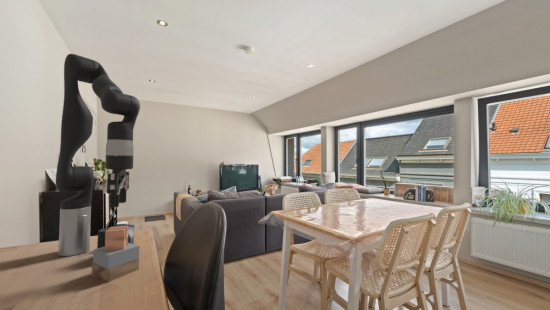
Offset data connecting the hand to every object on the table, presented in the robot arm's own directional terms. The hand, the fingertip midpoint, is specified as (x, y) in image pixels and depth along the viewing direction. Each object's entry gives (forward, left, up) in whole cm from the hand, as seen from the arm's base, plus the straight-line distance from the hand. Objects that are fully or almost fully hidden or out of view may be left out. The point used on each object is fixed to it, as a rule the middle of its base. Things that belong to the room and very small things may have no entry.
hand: (118, 204), depth 75 cm
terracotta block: (0, 0, -14) cm, 14 cm away
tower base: (0, 0, -22) cm, 22 cm away
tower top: (0, 0, -18) cm, 18 cm away
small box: (-14, +8, -21) cm, 27 cm away
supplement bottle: (-22, +15, -21) cm, 34 cm away
